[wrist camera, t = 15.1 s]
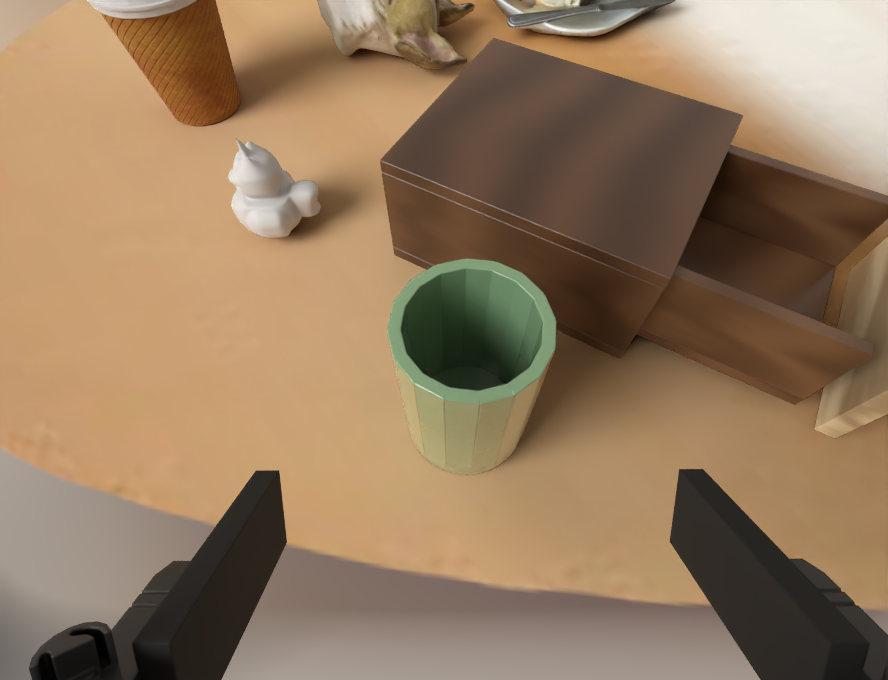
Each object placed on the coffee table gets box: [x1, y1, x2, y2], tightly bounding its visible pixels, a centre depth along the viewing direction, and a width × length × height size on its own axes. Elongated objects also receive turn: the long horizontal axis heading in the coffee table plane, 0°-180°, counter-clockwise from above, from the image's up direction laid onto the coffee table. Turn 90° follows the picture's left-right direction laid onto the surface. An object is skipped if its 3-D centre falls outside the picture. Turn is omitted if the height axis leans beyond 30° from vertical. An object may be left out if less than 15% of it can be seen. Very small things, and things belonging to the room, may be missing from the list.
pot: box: [387, 258, 557, 475], centre depth 26 cm, size 7×7×11 cm
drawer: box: [636, 145, 888, 439], centre depth 30 cm, size 23×14×7 cm, turn 60°
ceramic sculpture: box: [317, 0, 475, 69], centre depth 47 cm, size 11×9×15 cm
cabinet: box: [380, 38, 743, 358], centre depth 34 cm, size 18×15×9 cm
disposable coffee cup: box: [86, 0, 241, 126], centre depth 41 cm, size 10×10×12 cm
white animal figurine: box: [228, 139, 321, 238], centre depth 35 cm, size 5×7×8 cm
